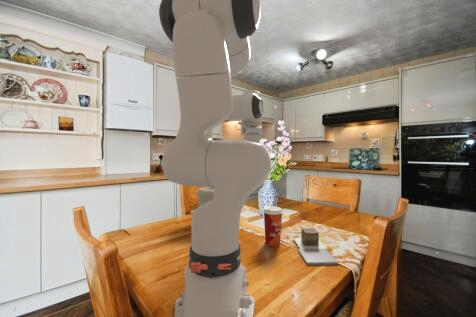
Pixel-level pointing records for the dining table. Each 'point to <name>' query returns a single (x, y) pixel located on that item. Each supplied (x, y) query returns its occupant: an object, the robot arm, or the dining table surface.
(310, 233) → the walnut cube
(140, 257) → the dining table surface
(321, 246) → the pad
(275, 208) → the paper cup
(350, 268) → the dining table surface
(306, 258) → the pad
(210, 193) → the canister
